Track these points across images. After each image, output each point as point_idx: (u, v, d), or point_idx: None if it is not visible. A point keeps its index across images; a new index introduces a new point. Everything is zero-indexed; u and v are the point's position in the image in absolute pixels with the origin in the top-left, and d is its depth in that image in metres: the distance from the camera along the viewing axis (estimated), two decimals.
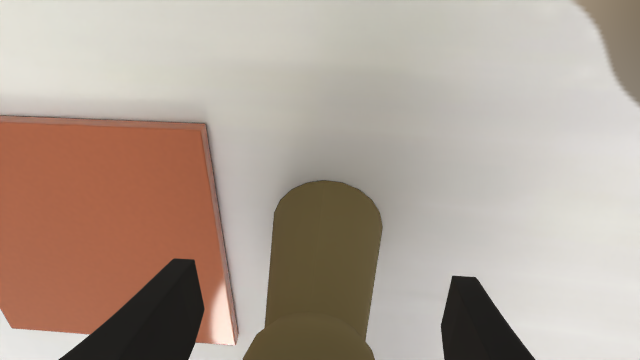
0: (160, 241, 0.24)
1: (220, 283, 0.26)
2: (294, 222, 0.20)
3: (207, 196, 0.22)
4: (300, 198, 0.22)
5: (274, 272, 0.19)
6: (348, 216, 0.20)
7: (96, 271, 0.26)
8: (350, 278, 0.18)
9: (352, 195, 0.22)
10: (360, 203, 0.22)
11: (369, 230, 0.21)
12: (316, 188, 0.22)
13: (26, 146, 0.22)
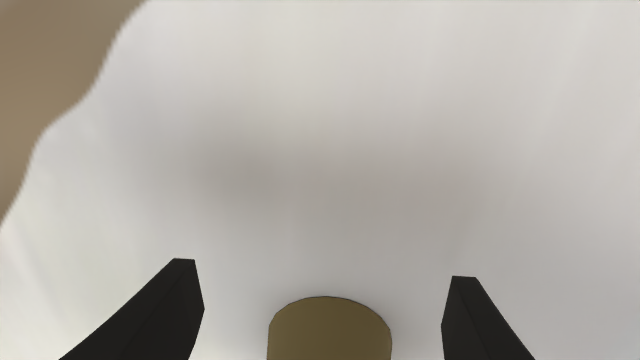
0: None
1: None
2: None
3: None
4: None
5: None
6: None
7: None
8: None
9: (272, 329, 0.20)
10: (277, 328, 0.19)
11: (288, 346, 0.18)
12: None
13: None
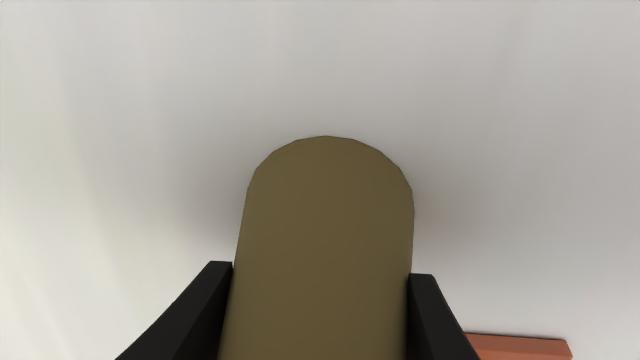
0: None
1: None
2: None
3: None
4: None
5: None
6: (244, 219, 0.13)
7: None
8: (236, 302, 0.10)
9: (250, 187, 0.14)
10: (256, 181, 0.14)
11: (270, 191, 0.13)
12: None
13: None
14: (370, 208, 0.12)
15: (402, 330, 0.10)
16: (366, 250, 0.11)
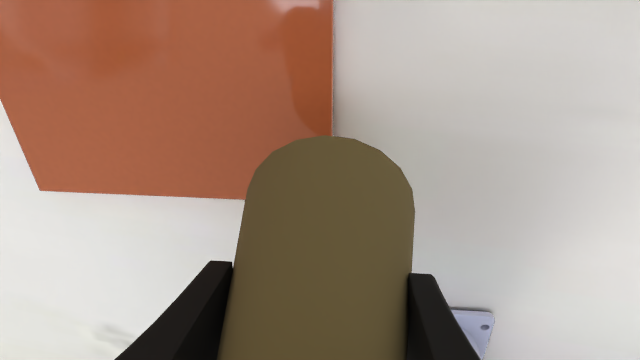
0: (250, 24, 0.18)
1: (325, 96, 0.19)
2: None
3: None
4: None
5: None
6: (244, 219, 0.13)
7: (157, 86, 0.19)
8: (236, 302, 0.10)
9: (250, 187, 0.14)
10: (256, 181, 0.14)
11: (270, 190, 0.13)
12: None
13: None
14: (371, 207, 0.12)
15: (403, 330, 0.10)
16: (367, 249, 0.10)
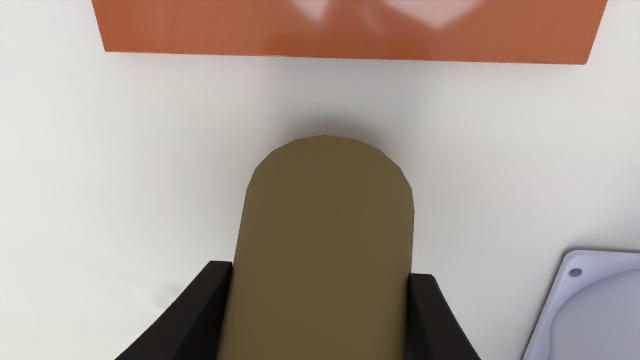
0: None
1: None
2: None
3: None
4: None
5: None
6: (244, 219, 0.13)
7: None
8: (235, 302, 0.10)
9: (250, 186, 0.14)
10: (256, 180, 0.14)
11: (269, 190, 0.13)
12: None
13: None
14: (370, 207, 0.12)
15: (402, 329, 0.10)
16: (367, 249, 0.10)
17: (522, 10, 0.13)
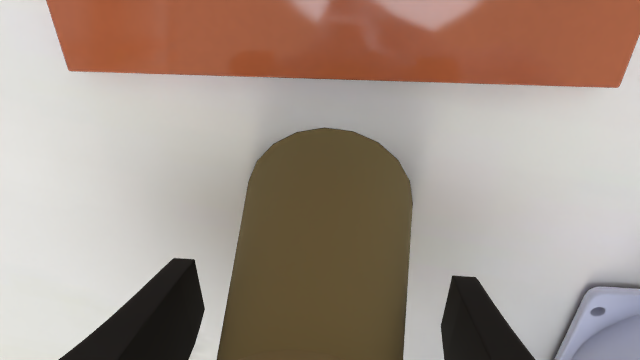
0: None
1: None
2: None
3: None
4: None
5: None
6: (246, 209, 0.13)
7: None
8: (238, 287, 0.10)
9: (252, 179, 0.15)
10: (257, 172, 0.14)
11: (271, 181, 0.13)
12: None
13: None
14: (369, 197, 0.12)
15: (400, 313, 0.10)
16: (365, 236, 0.11)
17: (547, 26, 0.11)
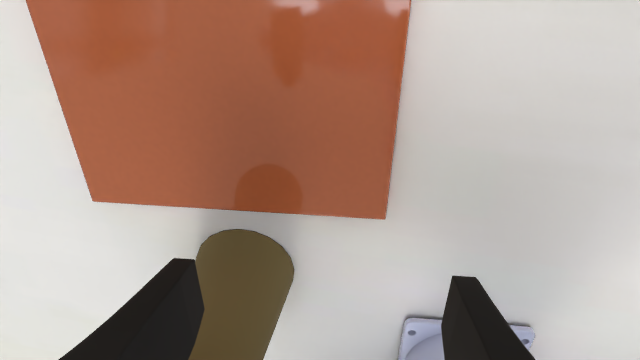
0: (323, 46, 0.18)
1: (390, 116, 0.19)
2: None
3: None
4: None
5: None
6: None
7: (223, 102, 0.20)
8: None
9: (197, 256, 0.25)
10: (199, 254, 0.25)
11: (204, 264, 0.23)
12: None
13: None
14: (254, 275, 0.23)
15: (259, 339, 0.21)
16: (245, 300, 0.21)
17: (341, 192, 0.22)
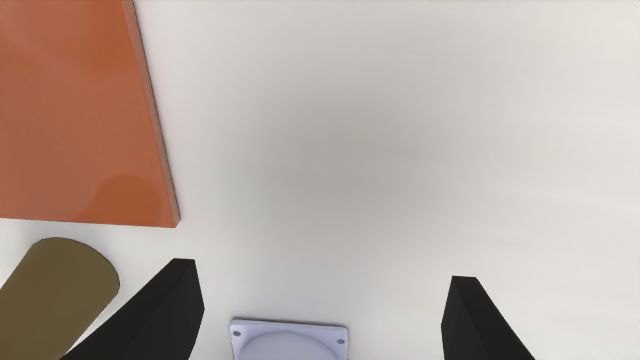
0: (68, 71, 0.20)
1: (148, 134, 0.21)
2: None
3: None
4: None
5: None
6: None
7: None
8: None
9: None
10: None
11: (15, 270, 0.25)
12: None
13: None
14: (55, 281, 0.24)
15: (45, 341, 0.23)
16: (36, 304, 0.23)
17: (128, 203, 0.23)
